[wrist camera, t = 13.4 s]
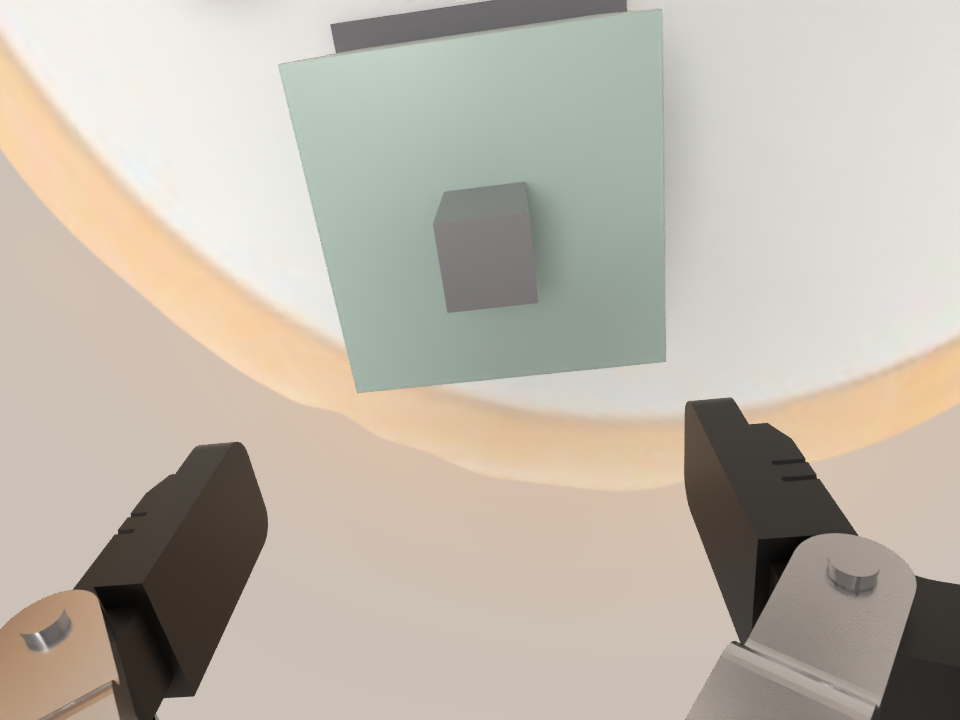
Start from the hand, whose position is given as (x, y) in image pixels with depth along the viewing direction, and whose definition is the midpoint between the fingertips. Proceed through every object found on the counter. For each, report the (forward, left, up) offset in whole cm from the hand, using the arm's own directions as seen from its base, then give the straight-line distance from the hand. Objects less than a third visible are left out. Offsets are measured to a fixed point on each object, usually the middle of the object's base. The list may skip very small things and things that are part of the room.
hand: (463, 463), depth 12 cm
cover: (0, 0, -31) cm, 31 cm away
